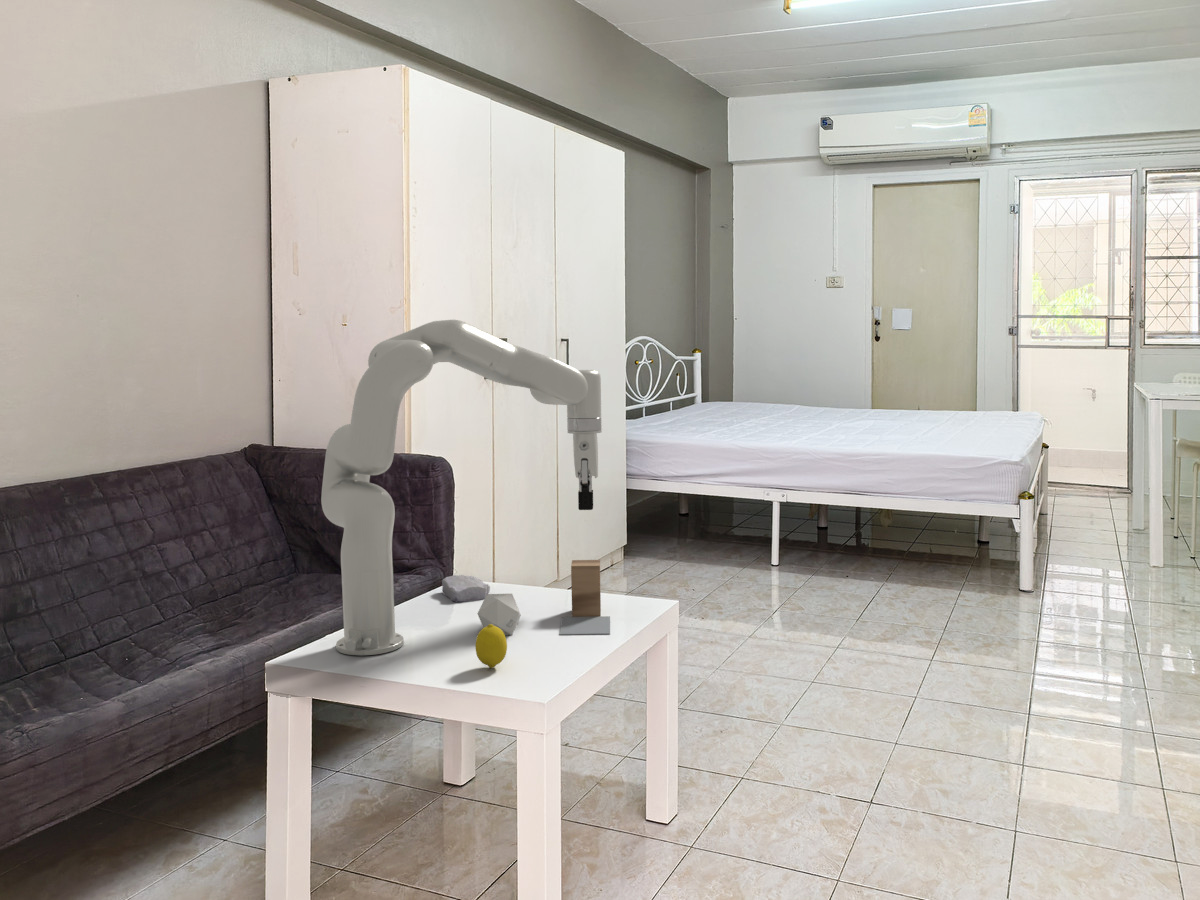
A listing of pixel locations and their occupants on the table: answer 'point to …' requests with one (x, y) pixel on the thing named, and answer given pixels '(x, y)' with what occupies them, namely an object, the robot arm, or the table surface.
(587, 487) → the robot arm
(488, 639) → the lemon
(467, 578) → the stone block
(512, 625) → the die
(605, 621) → the pad
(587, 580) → the walnut block
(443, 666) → the table surface
